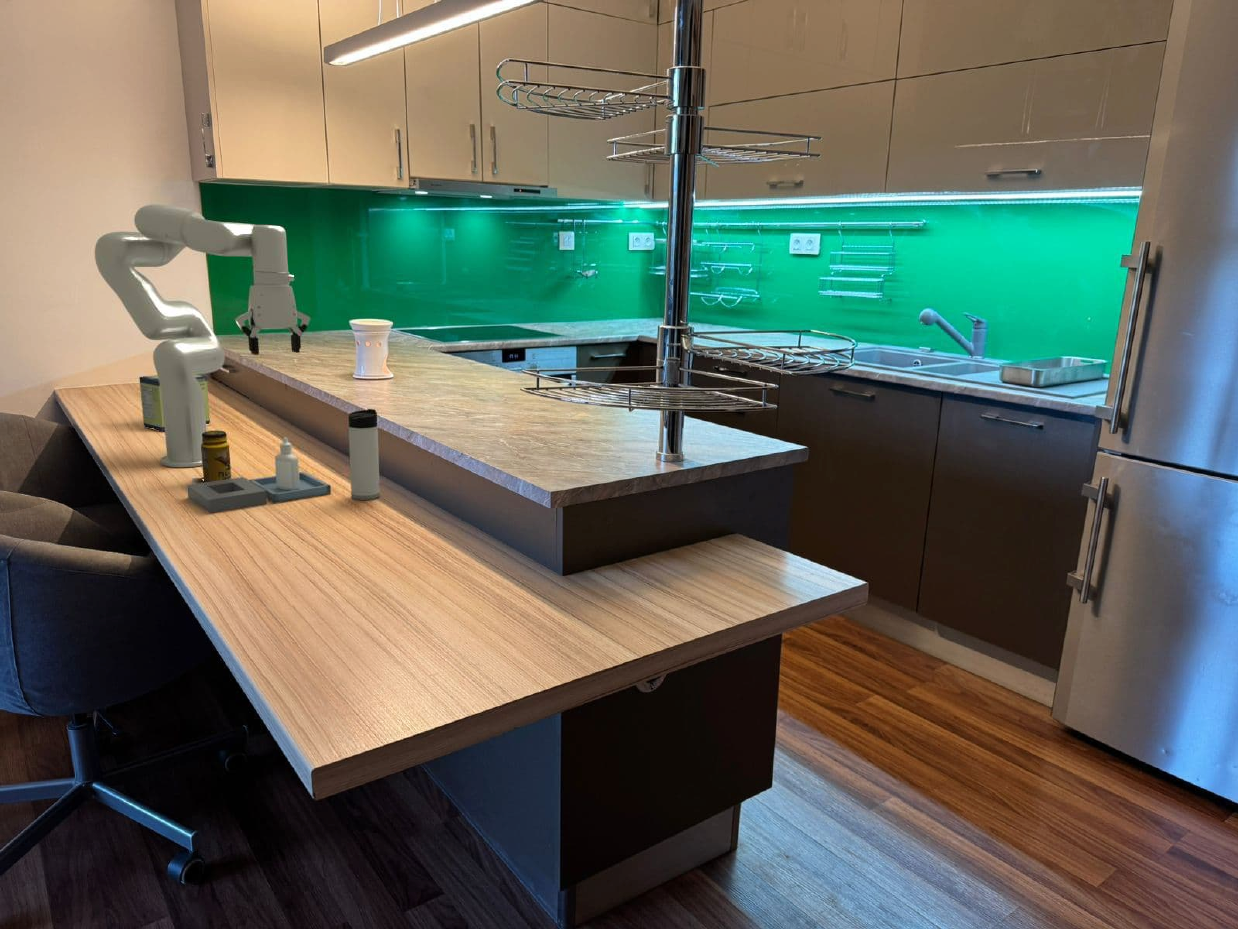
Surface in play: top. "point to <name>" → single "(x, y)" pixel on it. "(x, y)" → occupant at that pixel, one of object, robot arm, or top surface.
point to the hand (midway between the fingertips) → (275, 353)
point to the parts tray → (307, 489)
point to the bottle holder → (226, 494)
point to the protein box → (154, 401)
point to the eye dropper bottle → (287, 468)
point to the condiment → (215, 457)
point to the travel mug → (364, 454)
